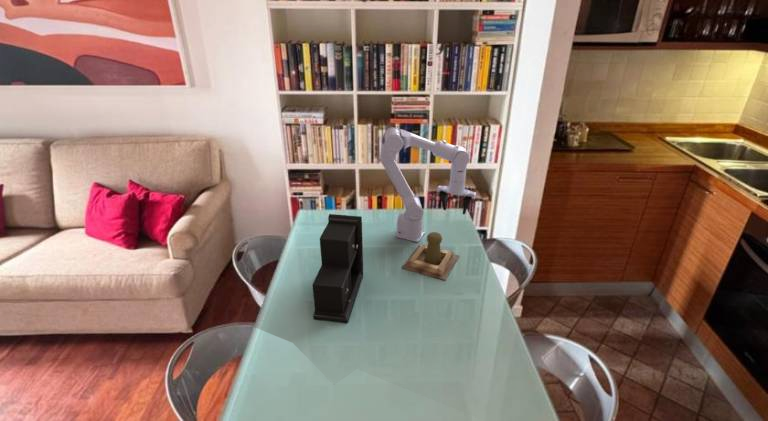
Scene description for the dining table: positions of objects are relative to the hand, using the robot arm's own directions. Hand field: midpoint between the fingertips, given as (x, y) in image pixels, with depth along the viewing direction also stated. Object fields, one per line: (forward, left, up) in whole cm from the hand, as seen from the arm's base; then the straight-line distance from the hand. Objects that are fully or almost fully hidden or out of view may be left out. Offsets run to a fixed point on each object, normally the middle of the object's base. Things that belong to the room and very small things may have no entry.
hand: (454, 211), depth 159 cm
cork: (-1, -21, -10) cm, 24 cm away
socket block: (-1, -22, -10) cm, 24 cm away
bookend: (-21, -52, -11) cm, 57 cm away
